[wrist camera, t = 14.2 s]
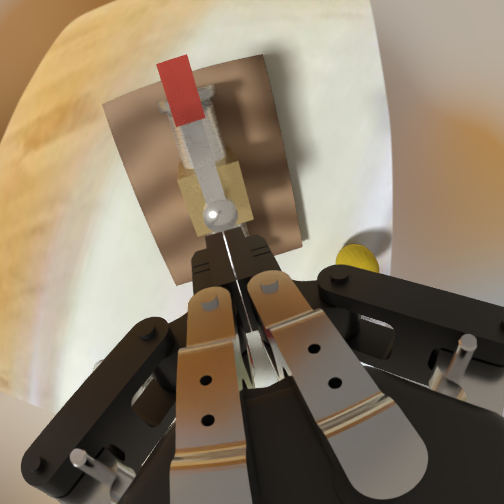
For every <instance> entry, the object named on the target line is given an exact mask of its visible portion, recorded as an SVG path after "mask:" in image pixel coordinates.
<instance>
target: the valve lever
mask: <svg viewBox="0 0 504 504" xmlns="http://www.w3.org/2000/svg"><path fill="white" fill-rule="evenodd" d="M156 65H157V68H158V71H159V75H160V78H161V81H162V84H163V88H164V91H165V94H166V97H167V100H168V104H169V107H170V110H171V113H172V116H173V119H174V122H175V126H176V127H179V126H180V127H181V130H182V133H183V136H184V139H185V142H186V145H187V148H188V151H189V154H190V157H191V160H192V164H193V167H194V170H195V173H196V176H197V179H198V182H199V185H200V188H201V191H202V193H203V196H204V199H205V202H206V203H205V205H204V207H203V218H204V223H205V225H206V226H207V227H208V228H209V229H210V230H212V231H214V232H224V231H225V230H229V229H231V228H233V227H234V226H235V224H236V222H237V220H238V212H237V209H236V206H235V204H234V202H233V201H232V200H231V199H230V198H229V197H226V196H225V195H224V191H223V188H222V185H221V182H220V178H219V175H218V172H217V169H216V165H215V162H214V159H213V155H212V152H211V149H210V145H209V142H208V139H207V136H206V132H205V129H204V126H203V122H202V119H204V118H206V117H205V114H204V111H203V107H202V104H201V101H200V97H199V94H198V90H197V87H196V84H195V80H194V77H193V73H192V70H191V67H190V63H189V60H188V56H187V55H183V56H180V57H177V58H174V59H171V60H168V61H165V62H162V63H159V64H156Z"/></svg>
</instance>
